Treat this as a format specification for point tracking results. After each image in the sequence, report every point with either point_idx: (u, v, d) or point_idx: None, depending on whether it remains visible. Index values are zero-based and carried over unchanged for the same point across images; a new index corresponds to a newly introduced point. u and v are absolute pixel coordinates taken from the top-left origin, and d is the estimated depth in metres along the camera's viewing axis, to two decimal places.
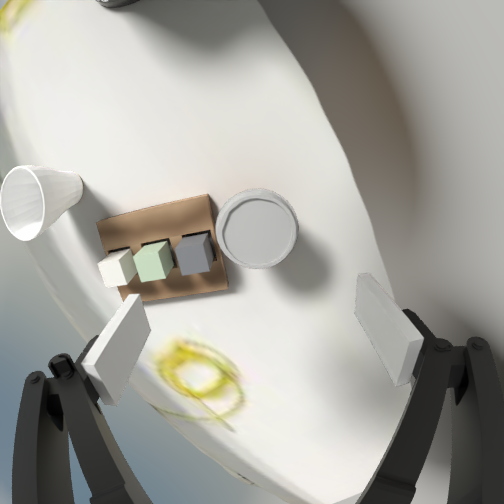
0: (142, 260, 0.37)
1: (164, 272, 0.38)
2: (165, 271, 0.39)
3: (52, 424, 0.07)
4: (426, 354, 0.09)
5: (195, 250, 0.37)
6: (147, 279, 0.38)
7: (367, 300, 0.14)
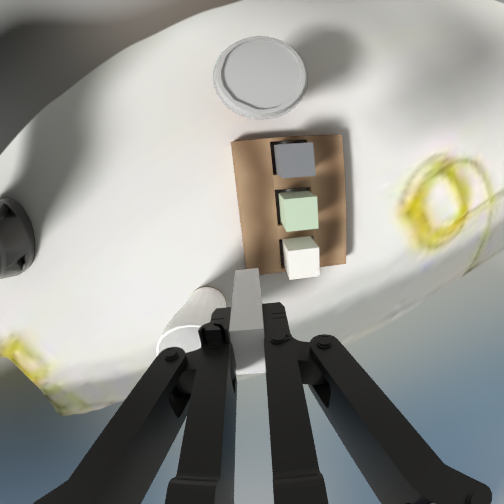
0: (292, 220, 0.33)
1: (309, 196, 0.33)
2: (309, 196, 0.33)
3: (170, 410, 0.09)
4: (265, 350, 0.11)
5: (286, 154, 0.31)
6: (316, 219, 0.34)
7: None
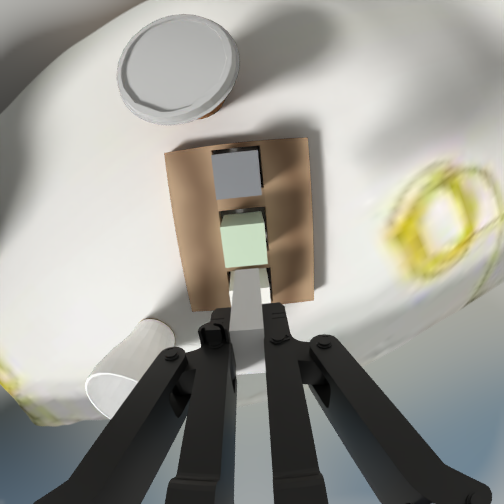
0: (231, 254, 0.26)
1: (255, 222, 0.25)
2: (255, 221, 0.26)
3: (170, 410, 0.09)
4: (265, 350, 0.11)
5: (221, 167, 0.23)
6: (263, 252, 0.26)
7: None
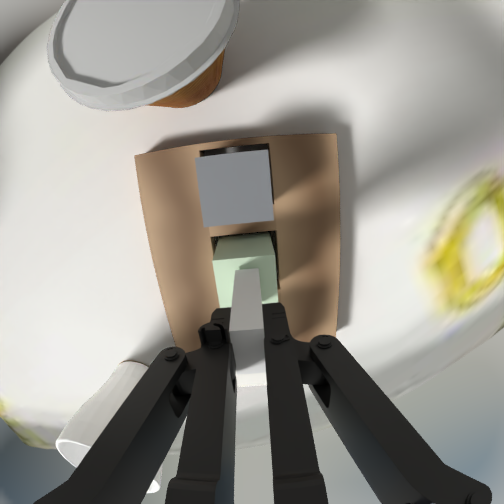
0: (229, 296, 0.19)
1: (261, 254, 0.18)
2: (262, 252, 0.18)
3: (170, 410, 0.09)
4: (265, 350, 0.11)
5: (210, 177, 0.15)
6: (273, 294, 0.19)
7: None
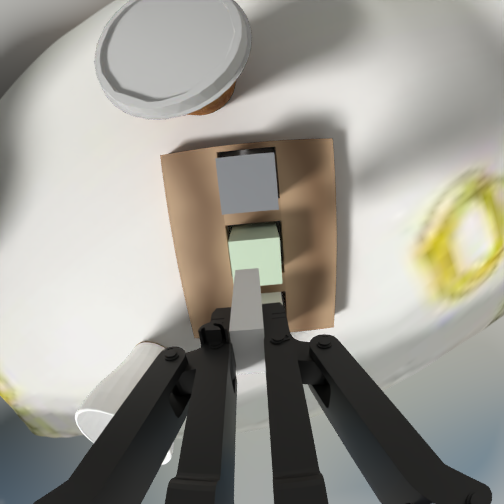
0: None
1: (268, 237, 0.22)
2: (269, 235, 0.22)
3: (170, 410, 0.09)
4: (265, 350, 0.11)
5: (228, 174, 0.19)
6: (278, 271, 0.23)
7: None
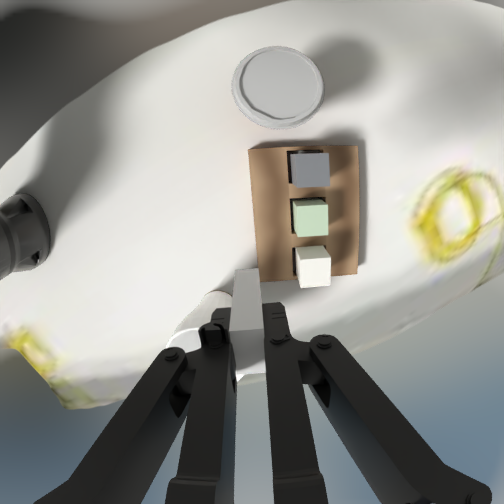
0: (303, 226, 0.35)
1: (321, 204, 0.34)
2: (320, 203, 0.35)
3: (170, 410, 0.09)
4: (265, 350, 0.11)
5: (302, 163, 0.31)
6: (326, 226, 0.35)
7: None
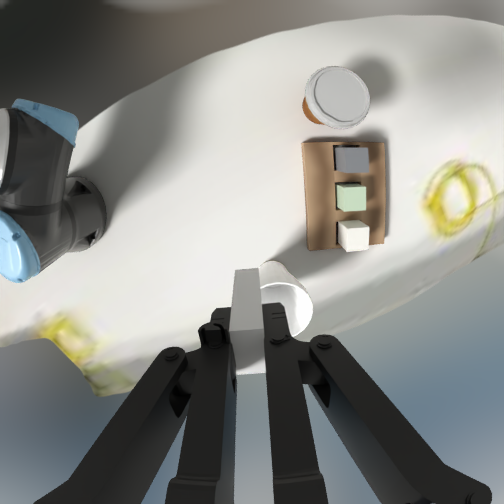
0: (348, 203, 0.44)
1: (360, 186, 0.43)
2: (360, 186, 0.43)
3: (170, 410, 0.09)
4: (265, 350, 0.11)
5: (349, 155, 0.39)
6: (364, 203, 0.44)
7: None
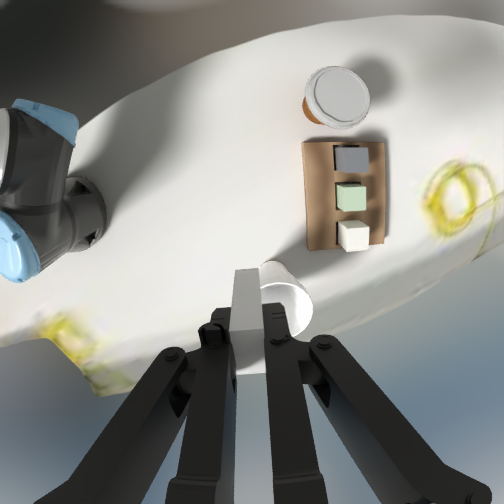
0: (348, 203, 0.44)
1: (360, 186, 0.43)
2: (360, 186, 0.43)
3: (170, 410, 0.09)
4: (265, 350, 0.11)
5: (349, 155, 0.39)
6: (364, 203, 0.44)
7: None
